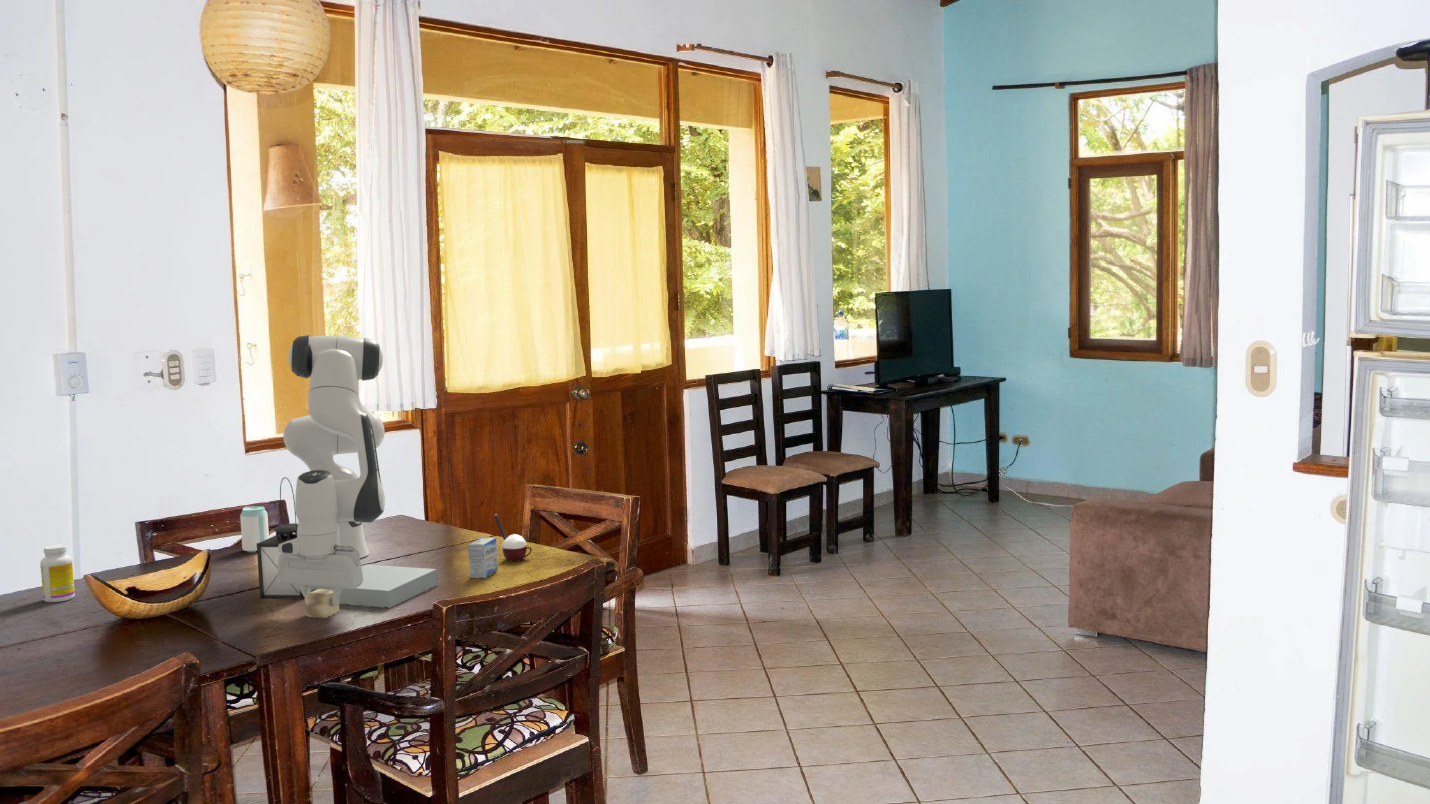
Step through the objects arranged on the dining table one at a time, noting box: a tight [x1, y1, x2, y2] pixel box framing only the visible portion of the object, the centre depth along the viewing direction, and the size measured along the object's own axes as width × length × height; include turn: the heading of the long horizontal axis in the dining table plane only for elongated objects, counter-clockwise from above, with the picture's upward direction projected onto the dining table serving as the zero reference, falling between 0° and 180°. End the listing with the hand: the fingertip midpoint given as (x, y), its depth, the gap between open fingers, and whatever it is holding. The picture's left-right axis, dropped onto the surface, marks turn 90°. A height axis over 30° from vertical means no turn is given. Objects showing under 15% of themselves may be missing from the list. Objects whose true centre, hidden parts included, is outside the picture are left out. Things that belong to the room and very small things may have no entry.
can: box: [239, 505, 270, 553], centre depth 322 cm, size 7×7×12 cm
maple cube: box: [304, 589, 340, 619], centre depth 258 cm, size 5×5×5 cm
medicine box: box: [467, 537, 499, 579], centre depth 290 cm, size 8×4×9 cm, turn 168°
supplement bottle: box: [39, 544, 76, 603], centre depth 275 cm, size 7×7×13 cm
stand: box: [315, 564, 438, 609], centre depth 275 cm, size 20×20×4 cm
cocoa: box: [493, 513, 533, 562], centre depth 305 cm, size 10×6×12 cm, turn 62°
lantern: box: [256, 477, 315, 599], centre depth 276 cm, size 11×11×28 cm
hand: (322, 605), depth 258 cm, fingers closed on maple cube, 5 cm apart
